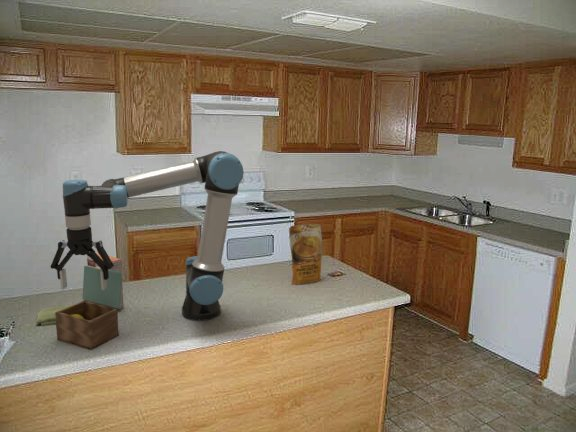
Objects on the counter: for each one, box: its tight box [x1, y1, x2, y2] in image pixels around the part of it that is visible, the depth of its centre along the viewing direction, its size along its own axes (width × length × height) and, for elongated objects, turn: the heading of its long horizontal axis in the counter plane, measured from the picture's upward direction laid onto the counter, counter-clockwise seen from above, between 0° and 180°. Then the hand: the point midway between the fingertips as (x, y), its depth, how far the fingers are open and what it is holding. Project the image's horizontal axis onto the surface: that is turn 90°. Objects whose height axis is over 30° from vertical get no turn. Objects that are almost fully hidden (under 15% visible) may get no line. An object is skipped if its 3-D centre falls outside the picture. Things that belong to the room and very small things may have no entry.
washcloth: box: [36, 303, 75, 327], centre depth 179 cm, size 13×18×3 cm
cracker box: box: [86, 252, 124, 310], centre depth 187 cm, size 14×6×21 cm, turn 58°
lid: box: [82, 265, 123, 308], centre depth 165 cm, size 17×13×2 cm
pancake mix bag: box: [288, 222, 323, 286], centre depth 222 cm, size 7×19×28 cm, turn 118°
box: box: [55, 300, 122, 351], centre depth 162 cm, size 17×13×10 cm
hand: (84, 288), depth 158 cm, fingers open, 13 cm apart
